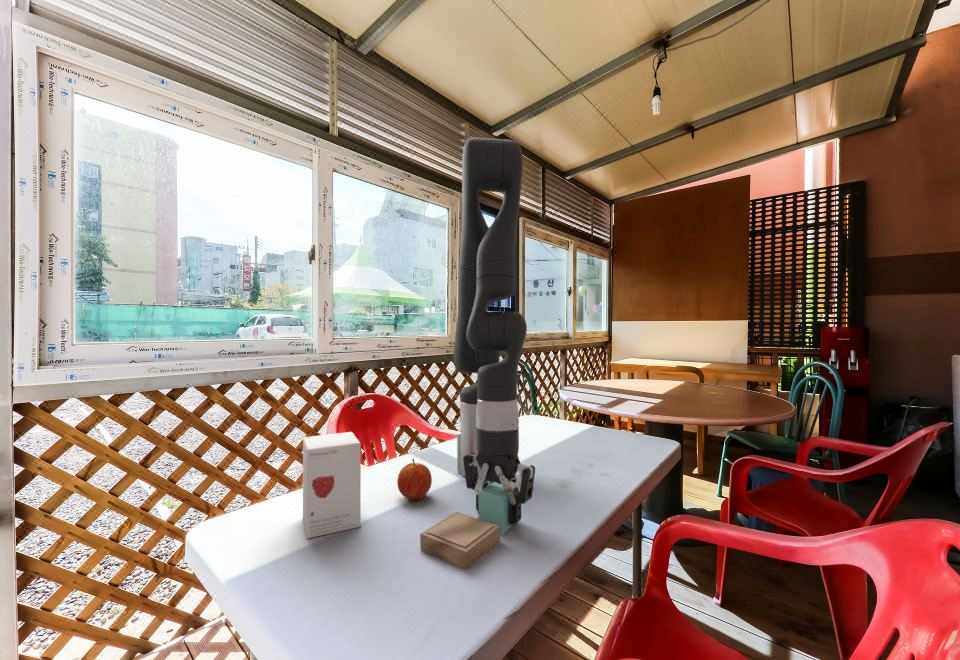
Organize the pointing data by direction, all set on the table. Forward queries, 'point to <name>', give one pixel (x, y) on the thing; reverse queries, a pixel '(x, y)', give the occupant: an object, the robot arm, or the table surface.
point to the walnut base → (460, 539)
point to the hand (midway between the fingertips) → (498, 518)
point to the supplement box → (331, 483)
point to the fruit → (414, 480)
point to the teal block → (494, 506)
